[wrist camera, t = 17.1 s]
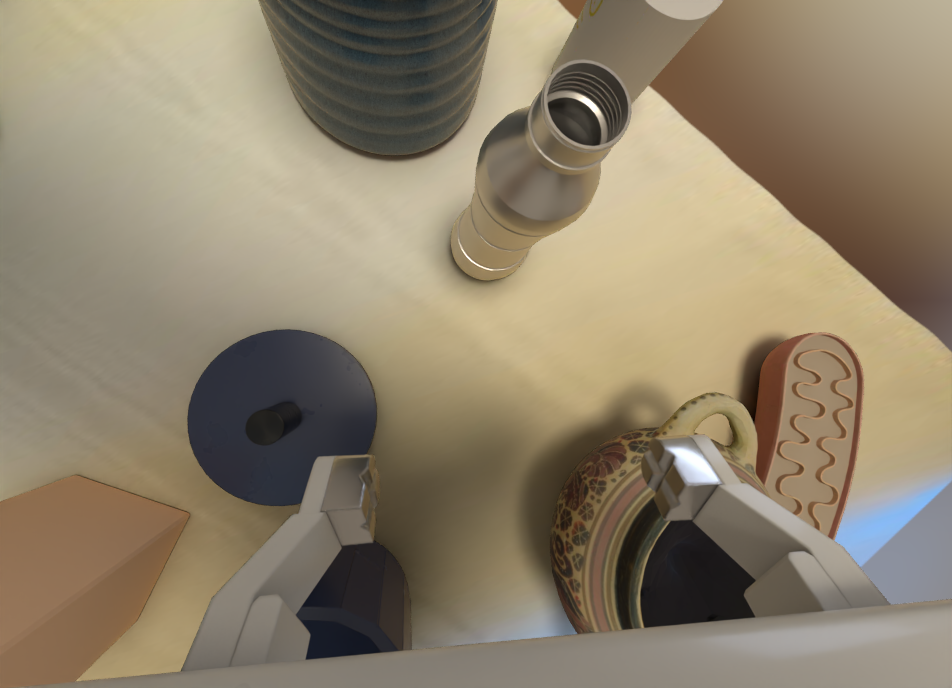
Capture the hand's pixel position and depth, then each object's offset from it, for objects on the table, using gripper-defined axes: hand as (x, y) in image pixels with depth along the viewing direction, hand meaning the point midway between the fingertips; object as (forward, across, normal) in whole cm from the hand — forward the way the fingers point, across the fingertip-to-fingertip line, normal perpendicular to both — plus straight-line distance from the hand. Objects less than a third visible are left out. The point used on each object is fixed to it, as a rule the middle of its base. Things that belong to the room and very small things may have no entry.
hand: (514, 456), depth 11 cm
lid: (+15, +15, +14) cm, 25 cm away
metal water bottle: (+26, -2, +5) cm, 26 cm away
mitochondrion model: (+16, -30, +22) cm, 41 cm away
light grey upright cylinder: (+37, -13, -7) cm, 40 cm away
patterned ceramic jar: (+11, -13, +25) cm, 30 cm away
